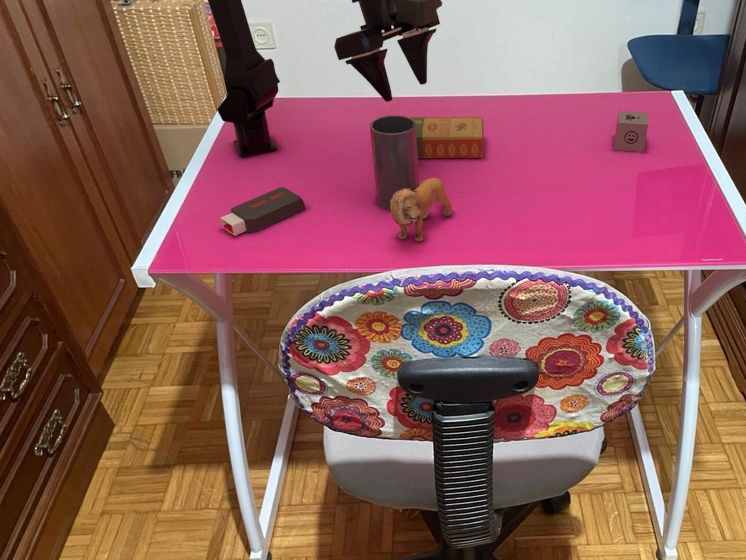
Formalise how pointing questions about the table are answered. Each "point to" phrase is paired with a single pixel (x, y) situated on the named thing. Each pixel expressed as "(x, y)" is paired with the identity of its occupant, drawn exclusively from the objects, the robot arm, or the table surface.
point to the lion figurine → (417, 205)
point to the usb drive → (262, 211)
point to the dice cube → (631, 131)
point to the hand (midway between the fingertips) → (407, 92)
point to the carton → (449, 137)
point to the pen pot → (394, 156)
